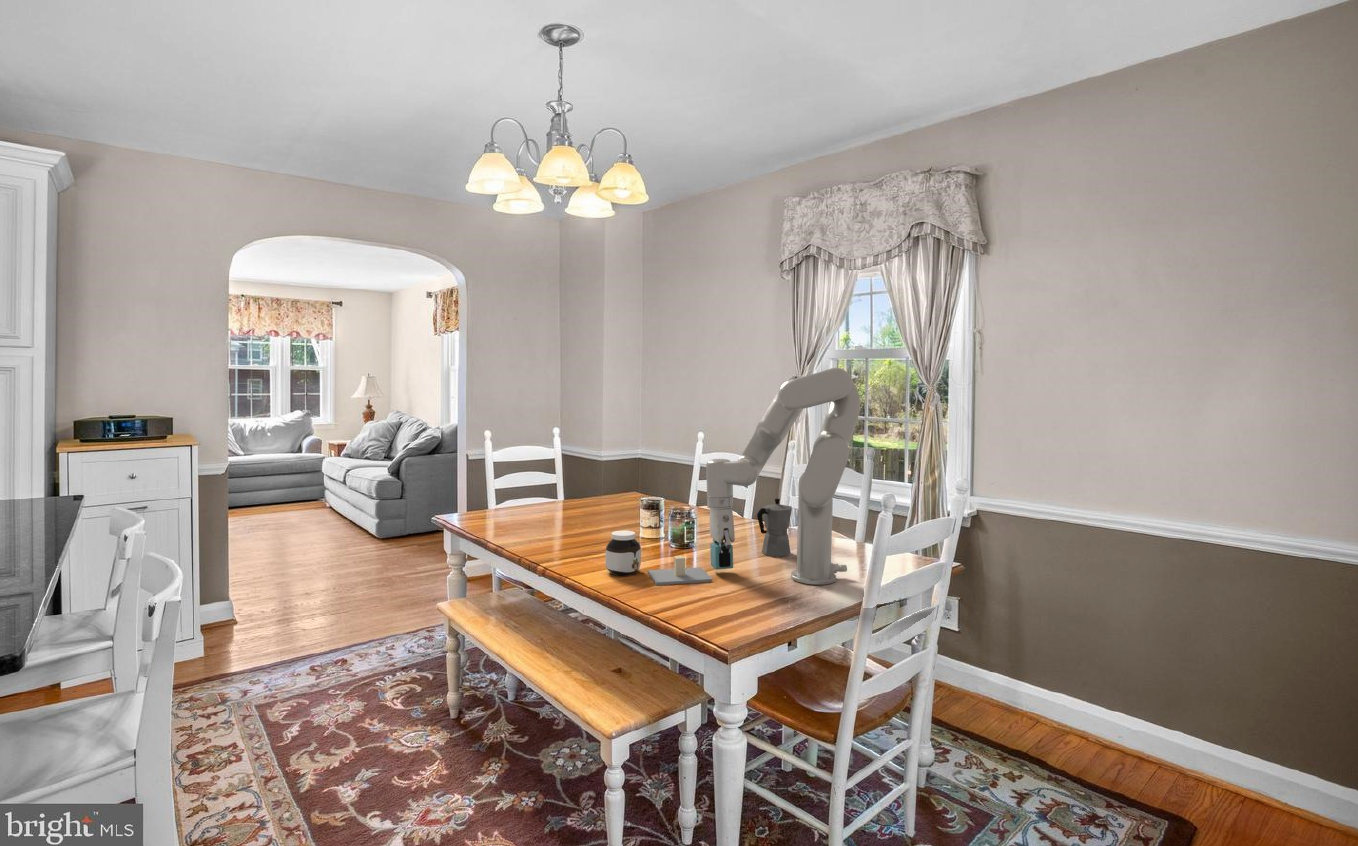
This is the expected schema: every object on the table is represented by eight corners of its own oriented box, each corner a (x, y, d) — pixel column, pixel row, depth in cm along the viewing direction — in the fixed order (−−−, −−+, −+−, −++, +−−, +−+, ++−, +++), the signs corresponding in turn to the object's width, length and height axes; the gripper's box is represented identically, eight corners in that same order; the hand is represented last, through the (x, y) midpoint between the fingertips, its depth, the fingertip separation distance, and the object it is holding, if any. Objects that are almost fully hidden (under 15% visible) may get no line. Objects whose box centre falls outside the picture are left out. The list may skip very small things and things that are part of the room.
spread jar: (619, 578, 197) (619, 538, 197) (593, 570, 205) (593, 531, 204) (649, 570, 206) (650, 531, 205) (623, 563, 214) (623, 525, 213)
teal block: (727, 563, 207) (727, 541, 207) (733, 568, 202) (732, 545, 202) (710, 565, 206) (710, 543, 205) (715, 569, 201) (715, 547, 200)
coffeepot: (779, 547, 235) (780, 494, 234) (800, 553, 228) (802, 498, 226) (746, 554, 225) (747, 499, 224) (767, 561, 218) (769, 503, 217)
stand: (700, 569, 207) (701, 550, 207) (712, 581, 196) (712, 561, 195) (647, 572, 203) (647, 553, 203) (656, 585, 192) (656, 564, 191)
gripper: (742, 506, 195) (743, 570, 196) (723, 496, 212) (725, 555, 213) (716, 508, 194) (718, 572, 195) (699, 498, 210) (701, 558, 211)
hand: (721, 563), depth 204 cm, fingers closed on teal block, 5 cm apart
